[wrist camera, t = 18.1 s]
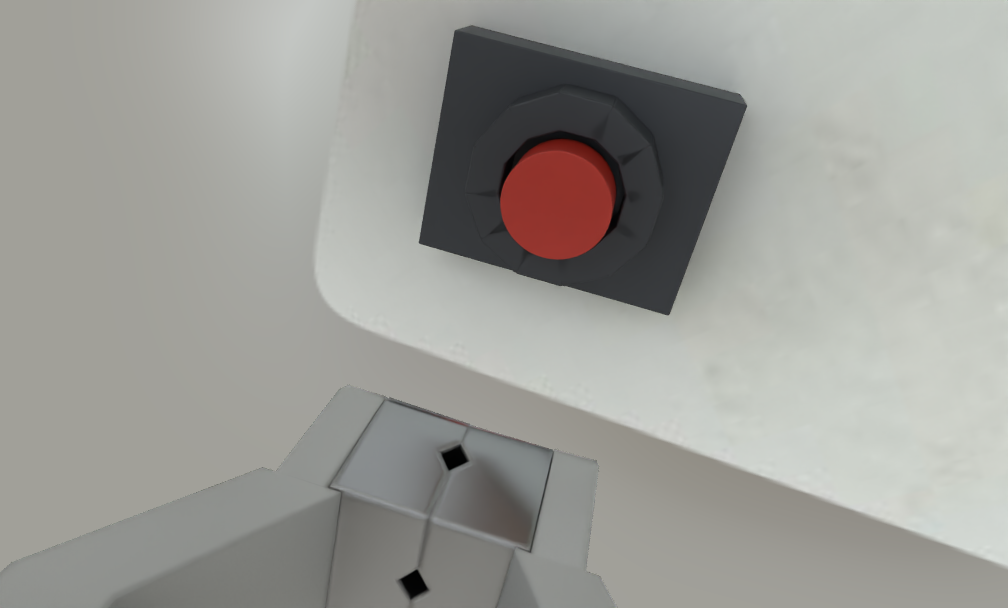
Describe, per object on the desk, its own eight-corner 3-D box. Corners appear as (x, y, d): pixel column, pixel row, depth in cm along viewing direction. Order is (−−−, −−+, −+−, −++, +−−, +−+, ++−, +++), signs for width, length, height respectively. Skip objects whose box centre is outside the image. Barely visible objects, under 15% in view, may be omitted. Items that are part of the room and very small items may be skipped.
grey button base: (434, 225, 29) (402, 260, 26) (470, 25, 26) (439, 33, 22) (668, 292, 28) (669, 338, 25) (741, 94, 25) (753, 115, 21)
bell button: (500, 225, 25) (489, 243, 23) (523, 125, 23) (513, 137, 22) (599, 253, 24) (594, 273, 23) (629, 154, 23) (626, 168, 21)
